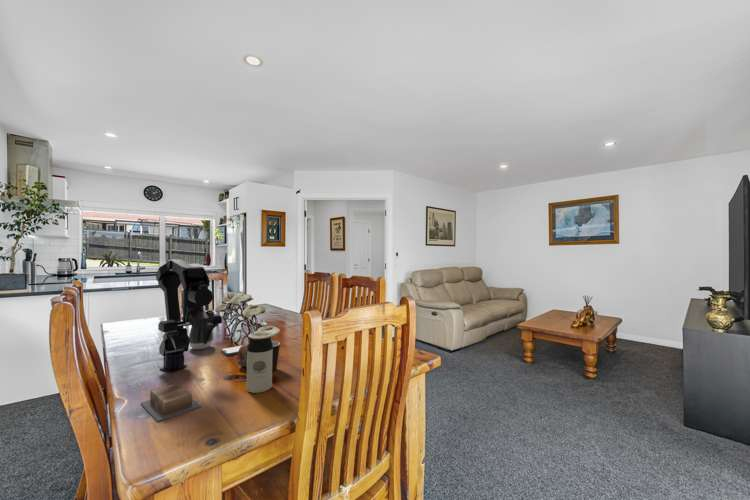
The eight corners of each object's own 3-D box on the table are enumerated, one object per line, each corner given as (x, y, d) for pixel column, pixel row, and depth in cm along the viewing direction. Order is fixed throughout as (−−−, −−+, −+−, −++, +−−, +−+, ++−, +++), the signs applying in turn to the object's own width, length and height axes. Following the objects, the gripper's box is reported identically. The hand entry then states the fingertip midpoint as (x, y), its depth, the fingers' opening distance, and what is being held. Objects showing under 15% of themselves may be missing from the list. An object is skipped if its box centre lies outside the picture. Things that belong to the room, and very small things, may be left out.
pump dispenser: (182, 350, 143) (183, 317, 143) (199, 344, 153) (200, 312, 153) (201, 352, 141) (202, 318, 141) (218, 345, 151) (218, 314, 151)
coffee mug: (284, 367, 124) (284, 342, 124) (269, 375, 116) (270, 348, 116) (259, 364, 128) (260, 339, 128) (244, 371, 119) (245, 345, 119)
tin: (242, 369, 121) (242, 348, 121) (235, 369, 122) (235, 347, 122) (263, 357, 136) (264, 337, 136) (257, 356, 137) (257, 337, 137)
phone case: (254, 346, 153) (219, 352, 142) (254, 343, 153) (220, 348, 142) (262, 350, 147) (226, 357, 136) (262, 347, 147) (226, 353, 136)
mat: (140, 404, 93) (140, 402, 93) (181, 391, 101) (181, 390, 101) (157, 422, 83) (157, 420, 83) (201, 406, 92) (201, 405, 92)
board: (150, 390, 94) (164, 402, 86) (176, 382, 99) (192, 394, 92) (150, 401, 94) (164, 415, 86) (176, 393, 99) (191, 406, 91)
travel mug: (251, 383, 109) (252, 331, 109) (274, 383, 109) (275, 331, 109) (242, 393, 101) (244, 337, 101) (268, 393, 101) (269, 337, 101)
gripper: (170, 308, 97) (169, 359, 97) (229, 302, 112) (228, 345, 112) (158, 304, 104) (157, 351, 104) (215, 298, 119) (214, 339, 119)
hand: (191, 347), depth 110 cm, fingers open, 9 cm apart
